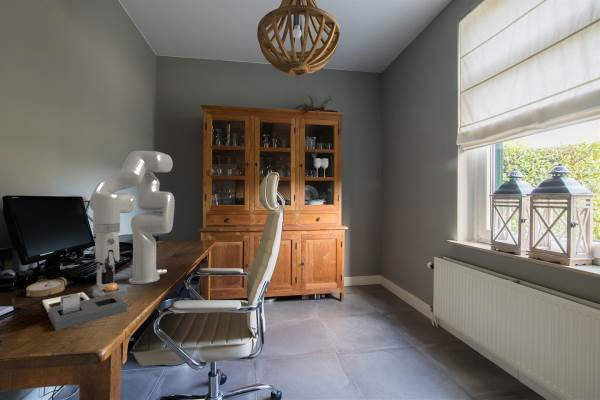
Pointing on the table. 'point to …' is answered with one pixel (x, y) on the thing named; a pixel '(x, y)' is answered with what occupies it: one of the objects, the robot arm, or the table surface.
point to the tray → (58, 299)
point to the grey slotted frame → (88, 311)
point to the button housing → (119, 293)
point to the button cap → (111, 288)
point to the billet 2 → (99, 275)
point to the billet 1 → (70, 304)
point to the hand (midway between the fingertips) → (105, 281)
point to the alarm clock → (46, 287)
